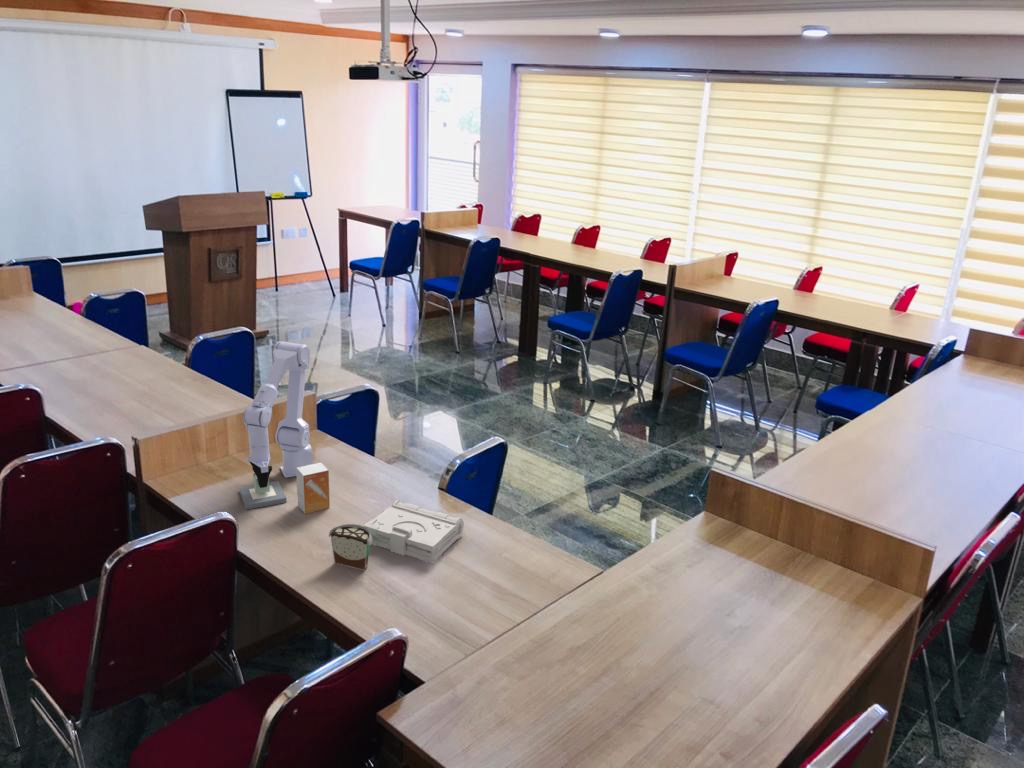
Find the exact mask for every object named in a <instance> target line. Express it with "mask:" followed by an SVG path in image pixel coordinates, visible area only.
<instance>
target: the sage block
mask: <svg viewBox="0 0 1024 768" xmlns="http://www.w3.org/2000/svg"><path fill="white" fill-rule="evenodd" d="M252 478H253V479H252V480H253V485H254V489H255V491H256V494H258V493H264V492H270V487H269V483H270V478H269V479H268V485H267V487H264V488H260V486H259V483H258V479H257V476H256V474H255V473H254V472H253V474H252Z"/></svg>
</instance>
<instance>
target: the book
mask: <svg viewBox="0 0 1024 768" xmlns="http://www.w3.org/2000/svg"><path fill="white" fill-rule="evenodd" d="M464 525H465V524H464V520H463V518H461V517H453V516H451V515H450V514H446V513H443V512H440V511H432V510H428V509H425V508H423V507H422V506H418V505H415V504H412V503H409V502H408V503H407V502H406V503H404V502H402V500H398V499H396V500H395V501H394V502H392V504H391V505H390V506H389V507H388V508H386V509H385V510H384V511H383V512H381V513H380V514H379V515H377V516H376V517H375V518H372V519H370V520H369V521H367V522H366V523H365V524H364V525H363V527H365V528H367V529H368V530H369V532H370V534H371V537H372V543H371V545H370V546H375V547H380V548H383V547H384V549H386V548H387V549H386V550H389V549H390V552H391V553H393V552H395V553H394V554H397V553H398V554H397V555H400V554H401V555H400V556H403V555H405V554H406V555H405V556H408V557H412V558H415V559H418V560H419V561H422V560H423V562H425V561H426V563H428V562H429V564H432V563H433V564H435V563H436V562H437V561H438V560H439V559H440V558H441V557H442V556H443V555H442V554H444V553H445V552H446V551H447V550H448V549H449V548H450V547H451V546H452V545H453V544H454V543H455V542H456V541H457V540H458V539H460V538H461V537H462V534H463V531H464ZM435 561H436V562H435ZM434 562H435V563H434Z"/></svg>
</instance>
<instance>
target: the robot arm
mask: <svg viewBox="0 0 1024 768" xmlns="http://www.w3.org/2000/svg"><path fill="white" fill-rule="evenodd" d="M310 356H311V350H310V349H309V346H308V345H307V344H306V343H305V344H304V343H303V344H302V343H295V342H289V341H288V342H286V341H282V340H279V341H277V342H276V344H275V345H274V347H273V351H272V358H273V363H272V367H271V369H270V371H269V373H268V376H267V380H266V382H265V383H264V384H262V385H260V386H259V389H258V391H257V393H256V394H255V397H254V399H253V400H252V401H253V402H252V404H251V405H250V406H248V407H246V408H245V409H244V412H243V417H242V422H243V423H244V425H245V429H246V430H247V433H248V434H247V435H248V445H249V446H248V447H249V448H248V449H249V456H248V457H246V458H245V460H246V462H247V463H249V464H250V466H251V467H252V471H253V474H254V473H255V474H256V476H257V479H258V483H259V486H260V488H264V487H267V485H268V479H269V480H270V475H271V472H272V471H273V466H272V465H269V464H270V461H271V455H270V444H269V443H270V442H269V440H270V439H269V430H268V425H269V424H270V422H271V419H272V414H273V409H272V408H273V406H274V404H275V402H276V400H277V398H278V395H279V392H278V388H279V387H278V386H279V385H280V383H281V381H282V380H283V378H284V377H285V375H286V373H287V371H289V373H288V385H287V397H286V406H285V407H286V408H285V409H286V410H285V417H284V418H283V419H282V420H280V421H279V422H278V423H277V429H276V430H275V431H276V432H275V442H276V443H277V444H278V445H279V448H281V453H282V455H281V456H282V466H280V470H281V473H282V474H283V477H284V478H293V477H297V476H296V468H298V467H302V466H306V465H311V464H314V459H313V458H314V457H313V455H314V454H313V448H312V446H311V444H310V439H311V434H310V425H309V423H308V422H306V421H305V420H304V419H303V408H304V398H305V397H304V395H305V386H306V374H307V369H309V368H310V358H311V357H310Z"/></svg>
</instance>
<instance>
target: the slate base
mask: <svg viewBox="0 0 1024 768" xmlns="http://www.w3.org/2000/svg"><path fill="white" fill-rule="evenodd" d="M269 487H270V492H264V493H258V494H256V491H255V489H254V484H253V485H246V486H241V487H238V489H239V494H240V497H241V499H242V502H243V504H244V507H245V509H246V510H249V509H250V510H251V509H256V508H261V507H267V506H272V505H273V504H274V505H278V504H285V503H287V501H288V500H287V497H286V494H285V491H284V490H283V489H282V486H281V484H280V482H279V480H277V481H269Z"/></svg>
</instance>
